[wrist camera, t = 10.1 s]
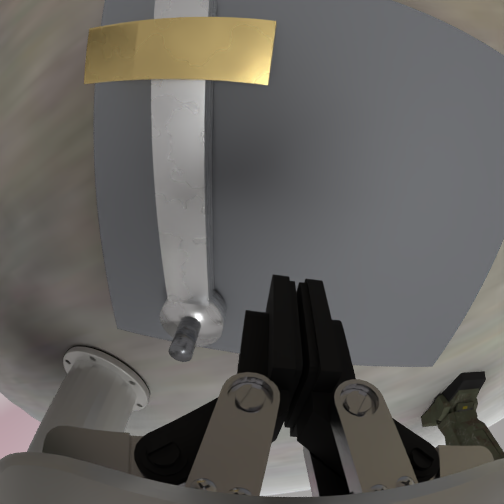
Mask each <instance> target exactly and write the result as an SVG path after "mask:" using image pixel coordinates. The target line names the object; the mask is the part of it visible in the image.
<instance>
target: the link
mask: <svg viewBox="0 0 504 504" xmlns="http://www.w3.org/2000/svg"><path fill="white" fill-rule="evenodd" d="M216 12H217V2H216V1H215V0H155V8H154V19H161V18H176V17H216ZM212 119H213V81H211V80H182V79H159V80H151V122H152V150H153V169H154V184H155V197H156V209H157V220H158V229H159V239H160V247H161V256H162V264H163V271H164V278H165V285H166V292H167V299H166V301H165V303H164V305H163V307H162V310H161V312H160V321H161V324H162V326H163V328H164V330H165V331H166V332H167V333H168V334H169V335H170V336H171V337H172V338H173V341H172V343H171V346H170V348H169V354H170V355H171V357H173V358H174V359H176V360H178V361H182V362H186V361H189V360H191V358H192V355H193V351H194V348H195V346H206V345H210V344H212V343H214V342H216V341H217V340H218V339H219V338H220V336H221V334H222V330H223V326H224V321H225V317H226V311H227V310H226V305H225V302H224V300H223V299H222V297H221V296H220V295H219V294H218V293H217V292H216V291H215V290H214V264H213V220H212Z"/></svg>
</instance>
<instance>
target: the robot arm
mask: <svg viewBox="0 0 504 504" xmlns="http://www.w3.org/2000/svg"><path fill="white" fill-rule="evenodd" d="M63 365H64V368H65V370H66V372H67V376H66V378H65V379H64V381H63V383H62V385H61V386H60V388H59V390H58V392H57V394H56V395H55V397H54V399H53V401H52V403H51V405H50V407H49V408H48V410H47V412H46V414H45V416H44V418H43V420H42V422H41V424H40V426H39V428H38V430H37V432H36V434H35V436H34V438H33V440H32V442H31V444H30V446H29V449H28V451H27V452H21V453H14V454H9V455H7V456H5V457H4V458H2V459H1V460H0V504H504V458H503V459H498V460H495V461H494V459H493V456H492V453H491V452H490V451H489V449H487V448H486V447H484V446H449V445H438V446H437V447H436V448H434V447H433V446H432V445H431V444H430V443H429V442H427V441H426V440H424V439H423V438H421V437H420V436H418V435H417V434H415V433H414V432H412V431H411V430H409V429H408V428H406V427H405V426H403V425H402V424H400V423H399V422H397V421H396V420H394V419H393V418H392V416H391V414H390V412H389V409H388V407H387V405H386V402H385V400H384V398H383V396H382V394H381V393H380V391H379V390H378V389H377V388H376V387H375V386H374V385H372V384H370V383H369V382H367V381H363V380H356V378H355V374H354V369H353V365H352V361H351V357H350V352H349V348H348V344H347V340H346V336H345V332H344V328H343V325H342V322H341V321H340V320H332V318H331V314H330V309H329V305H328V301H327V297H326V293H325V289H324V284H323V281H322V280H314V279H305V282H299V284H298V288H297V292H296V285H295V281H290V278H289V276H282V275H274V274H273V275H272V280H271V285H270V291H269V296H268V301H267V306H266V312H258V311H250V310H246V311H245V317H244V325H243V332H242V339H241V347H240V355H239V363H238V371H237V374H236V375H234V376H232V377H230V378H229V379H228V380H226V382H225V383H224V385H223V387H222V389H221V392H220V395H219V397H218V398H216V399H214V400H212V401H211V402H209V403H207V404H205V405H203V406H201V407H200V408H198V409H196V410H194V411H192V412H190V413H188V414H186V415H184V416H182V417H180V418H178V419H176V420H174V421H172V422H170V423H168V424H166V425H164V426H162V427H160V428H158V429H156V430H154V431H152V432H150V433H148V434H146V435H145V436H131V435H130V433H124V430H125V428H126V425H127V422H128V420H129V417H130V414H131V412H132V411H138V410H141V409H143V408H145V407H146V406H147V404H148V401H149V397H150V394H149V390H148V388H147V386H146V385H145V383H144V382H143V381H142V379H141V378H140V377H139V376H138V375H137V374H136V373H135V372H134V371H133V370H131V369H130V368H129V367H128V366H126V365H125V364H123V363H122V362H120V361H119V360H117V359H115V358H114V357H112V356H110V355H108V354H106V353H104V352H101V351H99V350H96V349H93V348H88V347H73V348H71V349H69V350H68V351H67V353H66V354H65V356H64V358H63ZM283 423H284V425H285V427H289V428H290V436H292V437H297V441H298V442H299V443H301V444H302V445H303V446H304V447H303V453H304V458H305V463H306V467H307V472H308V477H309V482H310V486H311V491H312V496H313V497H264V496H259V495H260V491H261V487H262V482H263V478H264V474H265V469H266V465H267V461H268V456H269V451H270V447H271V443H272V442H273V441H275V440H276V438H277V436H278V434H279V432H280V429H281V427H282V425H283Z"/></svg>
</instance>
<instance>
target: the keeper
mask: <svg viewBox="0 0 504 504" xmlns="http://www.w3.org/2000/svg"><path fill="white" fill-rule="evenodd" d="M276 27H277V23H276V21H272V20H262V19H251V18H235V17H176V18H161V19H149V20H140V21H132V22H125V23H118V24H112V25H106V26H100V27H95V28H90V29H89V36H88V44H87V53H86V63H85V77H84V84H92V83H103V82H115V81H130V80H159V79H182V80H211V81H227V82H239V83H249V84H258V85H267V86H269V78H270V71H271V64H272V56H273V49H274V41H275V34H276Z"/></svg>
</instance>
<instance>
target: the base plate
mask: <svg viewBox="0 0 504 504" xmlns="http://www.w3.org/2000/svg"><path fill="white" fill-rule="evenodd" d="M215 1H216V2H217V12H216V17H235V18H251V19H262V20H272V21H276V23H277V27H276V34H275V41H274V49H273V56H272V64H271V71H270V78H269V86H267V85H258V84H249V83H239V82H227V81H213V119H212V220H213V264H214V290H215V291H216V292H217V293H218V294H219V295H220V296H221V297H222V299H223V300H224V302H225V305H226V310H227V311H226V317H225V321H224V326H223V330H222V334H221V336H220V338H219V339H218V340H217V341H216V342H214V343H212V344H210V345H206V346H199V347H204V348H210V349H216V350H222V351H228V352H235V353H240V347H241V339H242V332H243V325H244V317H245V311H246V310H250V311H258V312H266V306H267V301H268V296H269V291H270V285H271V280H272V275H273V274H274V275H282V276H289V278H290V281H295V285H296V292H297V288H298V284H299V282H305V279H314V280H322V281H323V284H324V289H325V293H326V297H327V301H328V305H329V309H330V314H331V318H332V320H340V321H341V322H342V325H343V328H344V332H345V336H346V340H347V344H348V348H349V352H350V357H351V361H352V365H365V366H398V367H428V366H433V365H434V363H435V362H436V361H437V359H438V358H439V356H440V355H441V353H442V352H443V350H444V349H445V348H446V346H447V345H448V343H449V341H450V340H451V338H452V337H453V335H454V334H455V332H456V331H457V329H458V327H459V326H460V324H461V322H462V321H463V319H464V317H465V316H466V314H467V312H468V311H469V309H470V307H471V305H472V303H473V302H474V300H475V298H476V296H477V294H478V292H479V291H480V289H481V287H482V285H483V283H484V281H485V279H486V277H487V275H488V273H489V271H490V269H491V266H492V264H493V262H494V260H495V258H496V256H497V253H498V251H499V249H500V246H501V244H502V242H503V239H504V55H502V54H501V53H499V52H497V51H496V50H494V49H493V48H491V47H490V46H488V45H486V44H485V43H483V42H481V41H479V40H478V39H476V38H474V37H472V36H471V35H469V34H467V33H465V32H463V31H461V30H459V29H458V28H456V27H454V26H452V25H450V24H448V23H445V22H443V21H441V20H439V19H437V18H435V17H433V16H430V15H428V14H426V13H423V12H421V11H418V10H416V9H414V8H411V7H408V6H406V5H403V4H400V3H398V2H395V1H392V0H215ZM154 8H155V0H105V4H104V9H103V15H102V22H101V26H106V25H112V24H118V23H125V22H132V21H140V20H149V19H154ZM94 166H95V184H96V197H97V208H98V218H99V227H100V235H101V243H102V250H103V257H104V263H105V269H106V275H107V281H108V286H109V291H110V296H111V301H112V306H113V311H114V315H115V320H116V324H117V328H118V329H121V330H125V331H129V332H133V333H137V334H141V335H146V336H150V337H155V338H159V339H164V340H168V341H173V338H172V337H171V336H170V335H169V334H168V333H167V332H166V331H165V330H164V328H163V326H162V324H161V321H160V312H161V310H162V307H163V305H164V303H165V301H166V299H167V292H166V285H165V278H164V271H163V264H162V256H161V247H160V239H159V229H158V220H157V209H156V197H155V184H154V169H153V150H152V122H151V80H130V81H115V82H103V83H95V93H94Z"/></svg>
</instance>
